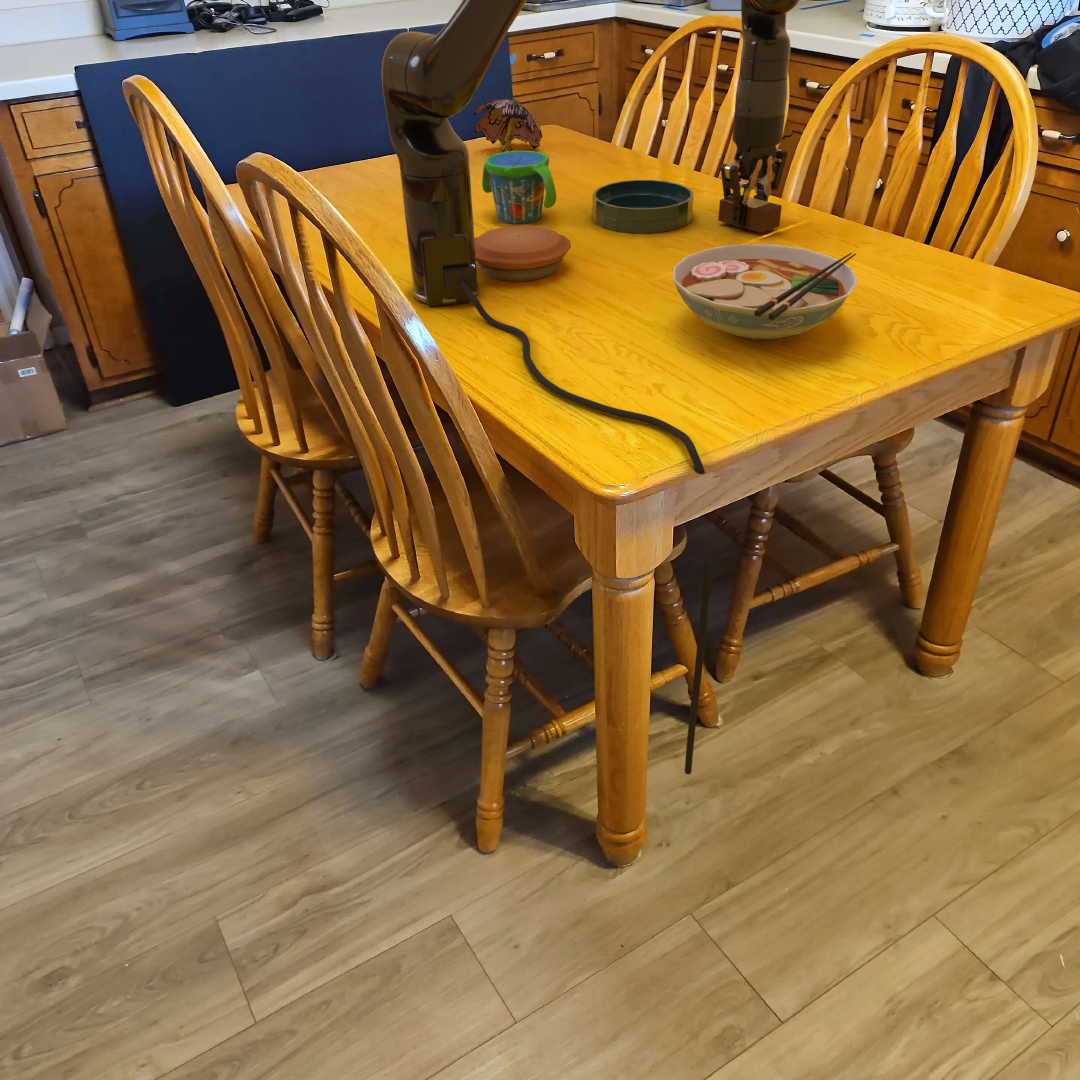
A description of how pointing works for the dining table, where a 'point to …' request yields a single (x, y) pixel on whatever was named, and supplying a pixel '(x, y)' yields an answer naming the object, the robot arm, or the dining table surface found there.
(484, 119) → the decorative flower
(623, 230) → the snack bowl
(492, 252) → the pie
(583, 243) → the dining table surface
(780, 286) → the ramen bowl
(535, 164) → the snack cup
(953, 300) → the dining table surface
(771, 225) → the oat bar
